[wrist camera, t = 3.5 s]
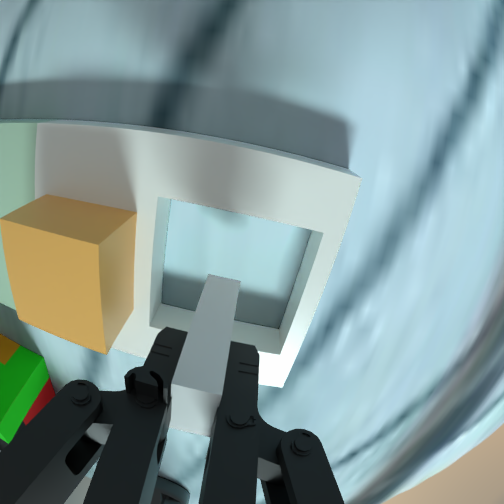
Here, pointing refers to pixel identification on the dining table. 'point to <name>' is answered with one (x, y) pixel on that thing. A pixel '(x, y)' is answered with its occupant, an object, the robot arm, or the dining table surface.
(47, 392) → the puzzle toy
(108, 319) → the orange block
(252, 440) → the robot arm
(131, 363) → the dining table surface
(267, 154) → the plate
